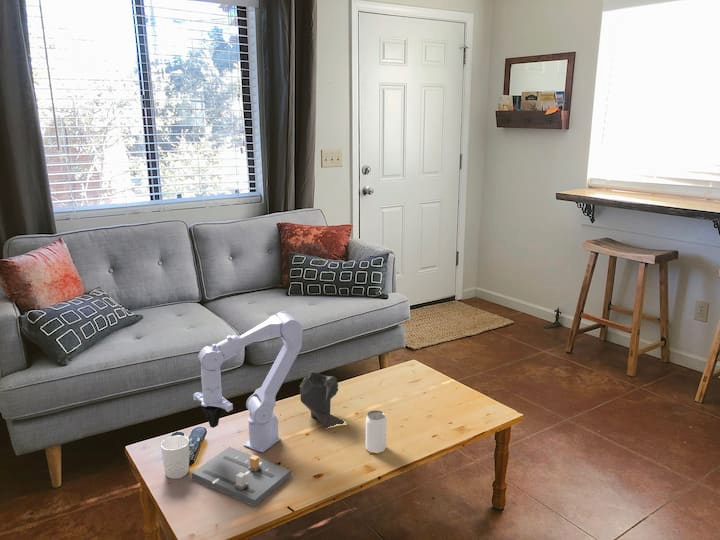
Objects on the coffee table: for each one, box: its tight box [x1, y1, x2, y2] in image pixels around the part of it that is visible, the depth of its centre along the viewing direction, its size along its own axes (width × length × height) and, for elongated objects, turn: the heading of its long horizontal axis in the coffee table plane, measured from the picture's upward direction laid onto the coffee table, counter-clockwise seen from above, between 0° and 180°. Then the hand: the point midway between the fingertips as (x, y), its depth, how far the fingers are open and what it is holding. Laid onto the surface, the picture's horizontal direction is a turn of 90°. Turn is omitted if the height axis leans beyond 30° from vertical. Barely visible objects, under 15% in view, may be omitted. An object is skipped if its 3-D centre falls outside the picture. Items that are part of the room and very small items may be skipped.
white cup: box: [160, 434, 190, 480], centre depth 174 cm, size 8×8×10 cm
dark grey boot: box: [299, 369, 345, 430], centre depth 205 cm, size 14×15×18 cm
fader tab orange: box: [248, 454, 262, 472], centre depth 173 cm, size 3×3×4 cm
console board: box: [190, 446, 292, 507], centre depth 173 cm, size 16×24×2 cm
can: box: [365, 410, 387, 453], centre depth 187 cm, size 6×6×12 cm
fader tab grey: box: [234, 472, 249, 490], centre depth 165 cm, size 3×3×4 cm
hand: (214, 425), depth 182 cm, fingers closed
